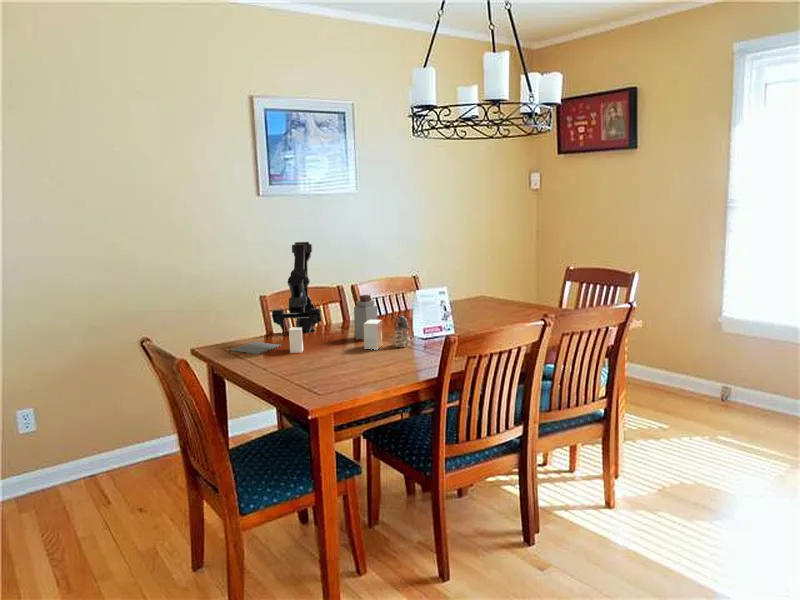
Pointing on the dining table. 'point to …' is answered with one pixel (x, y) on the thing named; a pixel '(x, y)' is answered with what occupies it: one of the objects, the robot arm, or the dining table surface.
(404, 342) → the figurine
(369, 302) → the grey bottle
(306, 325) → the robot arm
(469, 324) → the dining table surface
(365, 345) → the small box
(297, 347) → the pale block
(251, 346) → the charcoal mat
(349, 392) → the dining table surface
